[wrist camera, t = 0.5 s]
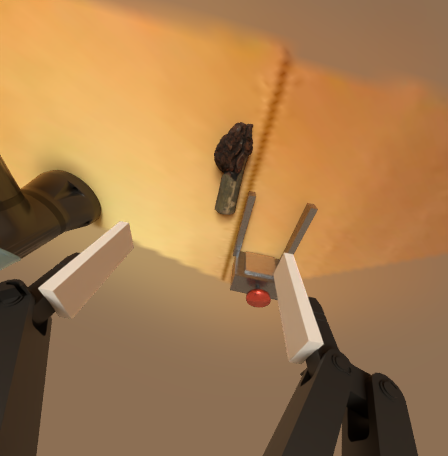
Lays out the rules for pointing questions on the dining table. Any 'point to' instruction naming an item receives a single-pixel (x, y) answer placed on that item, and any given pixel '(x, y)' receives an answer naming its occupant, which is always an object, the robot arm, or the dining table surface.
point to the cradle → (262, 259)
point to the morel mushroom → (232, 165)
